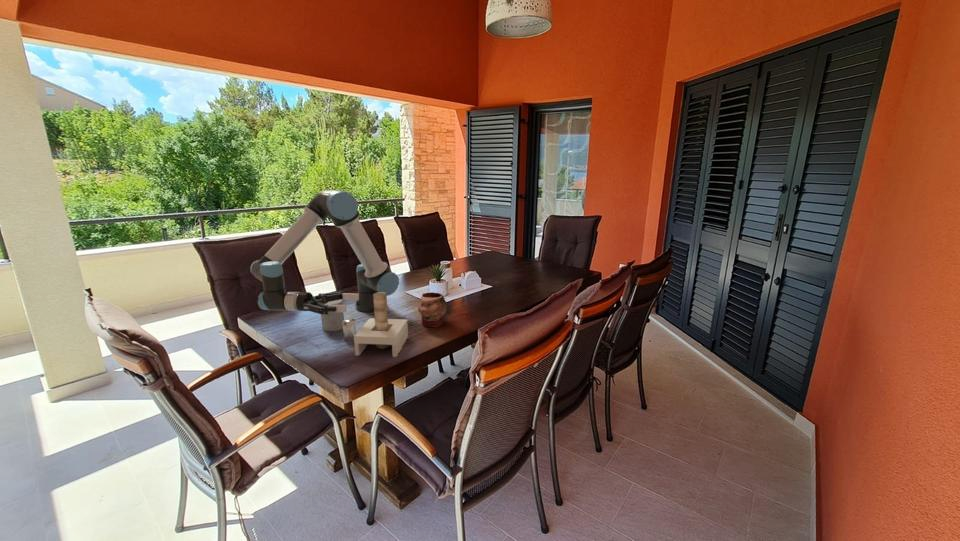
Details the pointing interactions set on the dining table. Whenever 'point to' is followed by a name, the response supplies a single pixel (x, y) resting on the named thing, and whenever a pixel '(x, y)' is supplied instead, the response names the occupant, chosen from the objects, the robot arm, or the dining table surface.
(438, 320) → the decorative planter
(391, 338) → the miniature square stool
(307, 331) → the dining table surface
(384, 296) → the long pin
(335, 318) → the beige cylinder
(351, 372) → the dining table surface
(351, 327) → the glass salt shaker
